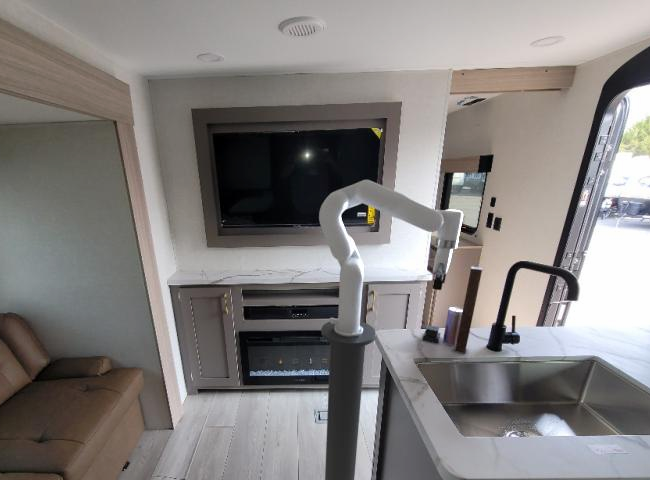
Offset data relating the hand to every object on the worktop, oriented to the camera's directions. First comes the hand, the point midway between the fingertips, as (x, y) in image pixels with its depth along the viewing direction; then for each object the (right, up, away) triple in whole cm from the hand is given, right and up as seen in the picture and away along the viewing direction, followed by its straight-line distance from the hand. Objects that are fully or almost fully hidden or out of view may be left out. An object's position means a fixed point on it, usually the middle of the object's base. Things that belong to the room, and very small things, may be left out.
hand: (438, 285), depth 130 cm
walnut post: (+8, -26, 0) cm, 27 cm away
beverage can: (+8, -24, +6) cm, 25 cm away
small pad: (+1, -20, +8) cm, 22 cm away
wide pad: (+1, -23, +8) cm, 24 cm away
